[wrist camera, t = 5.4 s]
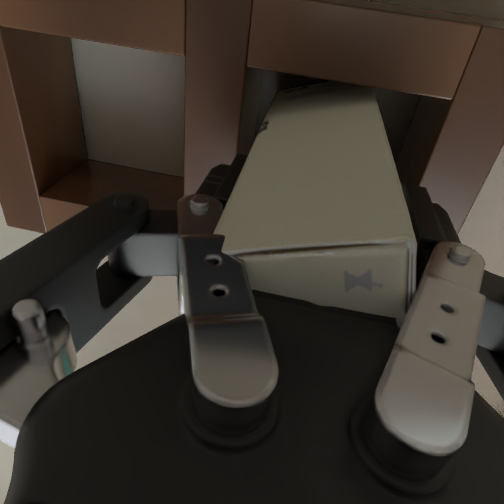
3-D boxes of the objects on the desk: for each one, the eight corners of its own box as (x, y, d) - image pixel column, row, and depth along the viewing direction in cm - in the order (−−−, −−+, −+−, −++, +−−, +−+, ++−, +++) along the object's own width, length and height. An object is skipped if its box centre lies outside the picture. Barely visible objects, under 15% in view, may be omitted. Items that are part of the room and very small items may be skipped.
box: (274, 88, 18) (185, 242, 8) (374, 72, 17) (424, 228, 7) (289, 192, 21) (238, 405, 11) (375, 184, 20) (412, 414, 10)
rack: (57, 187, 24) (6, 226, 20) (10, -52, 17) (-79, -59, 13) (406, 255, 22) (418, 311, 18) (507, 21, 15) (559, 36, 12)
